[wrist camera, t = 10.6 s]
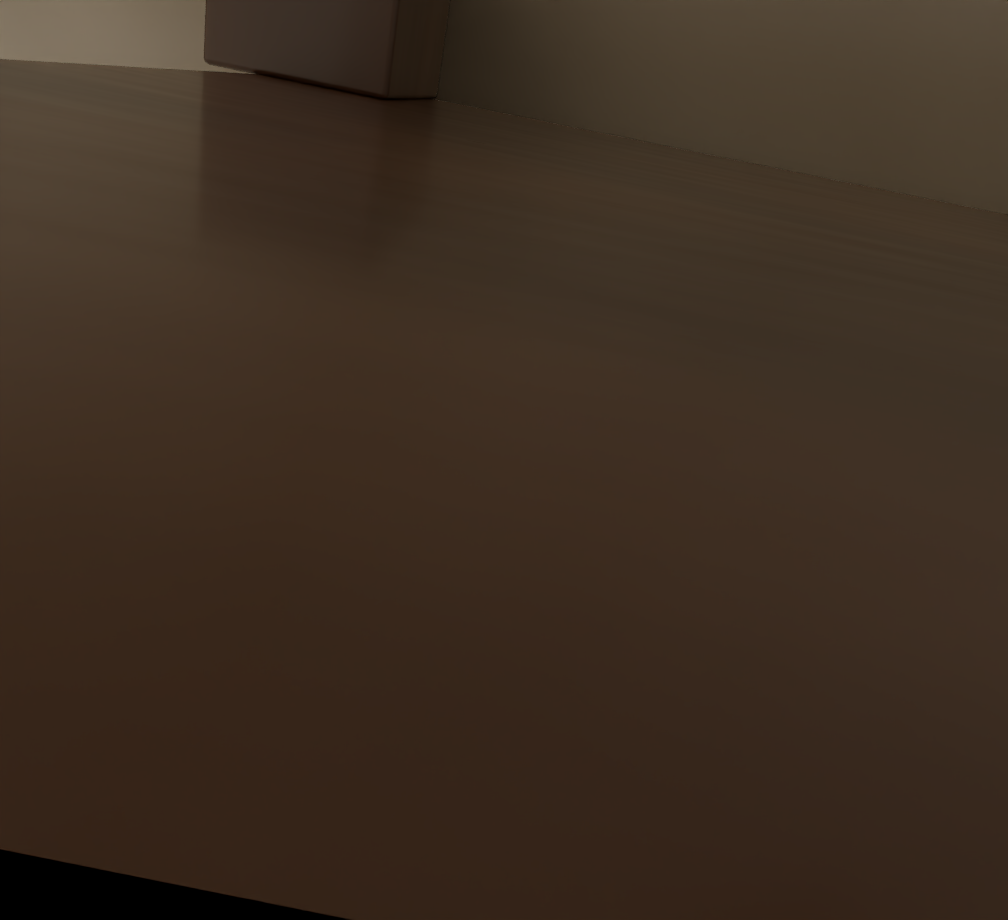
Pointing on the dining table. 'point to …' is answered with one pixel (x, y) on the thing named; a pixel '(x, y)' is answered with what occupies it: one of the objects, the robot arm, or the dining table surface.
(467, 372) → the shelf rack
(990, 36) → the dining table surface
